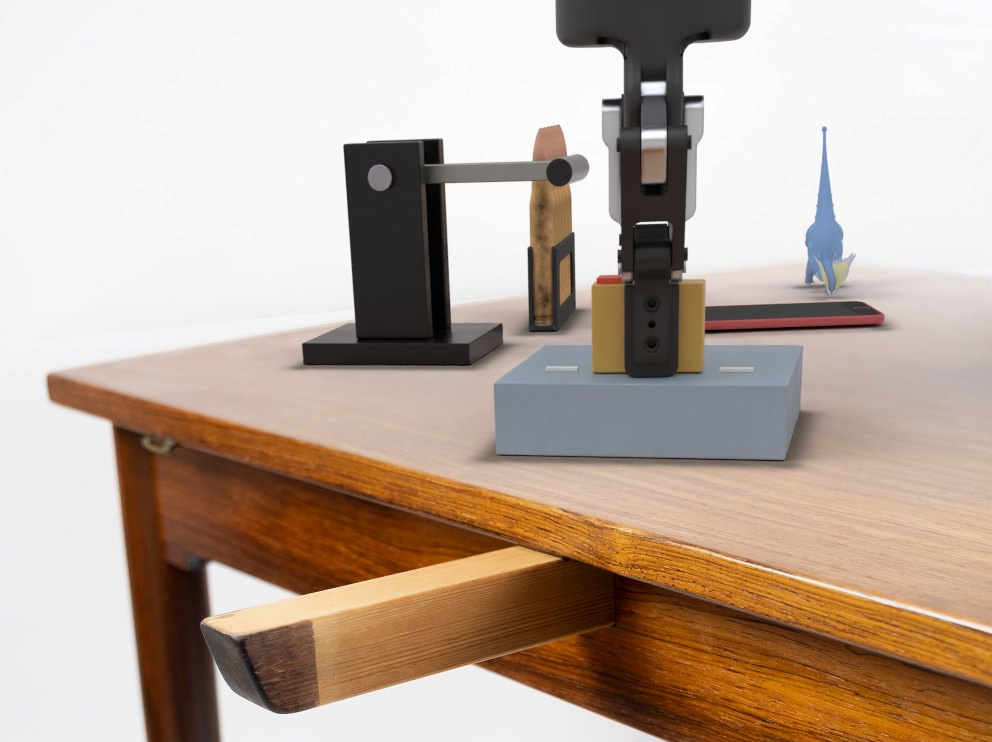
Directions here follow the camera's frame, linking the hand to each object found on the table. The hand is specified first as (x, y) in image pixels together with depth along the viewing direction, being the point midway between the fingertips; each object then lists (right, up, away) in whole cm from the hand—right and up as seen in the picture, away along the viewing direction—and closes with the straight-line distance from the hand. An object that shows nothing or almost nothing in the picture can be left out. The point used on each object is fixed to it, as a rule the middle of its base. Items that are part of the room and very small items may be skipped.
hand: (650, 369), depth 64 cm
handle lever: (-7, +15, +22) cm, 27 cm away
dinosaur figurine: (+18, +16, +46) cm, 52 cm away
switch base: (0, -2, +3) cm, 4 cm away
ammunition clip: (-2, +12, +37) cm, 39 cm away
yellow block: (0, 0, 0) cm, 0 cm away
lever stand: (-12, +7, +26) cm, 29 cm away
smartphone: (+11, +10, +32) cm, 35 cm away
